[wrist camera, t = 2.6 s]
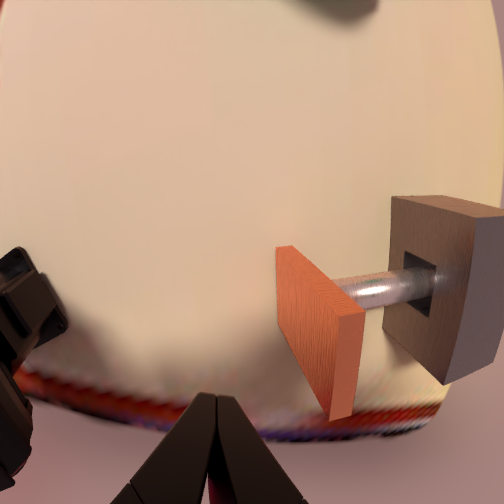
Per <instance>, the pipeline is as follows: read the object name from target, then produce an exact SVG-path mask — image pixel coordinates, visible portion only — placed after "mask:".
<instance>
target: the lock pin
mask: <svg viewBox="0 0 504 504" xmlns="http://www.w3.org/2000/svg"><path fill="white" fill-rule="evenodd" d="M276 271H277V302H278V324H279V326H280V328H281V330H282V332H283V334H284V336H285V338H286V340H287V342H288V344H289V346H290V348H291V350H292V352H293V353H294V355H295V357H296V359H297V361H298V363H299V365H300V367H301V369H302V371H303V373H304V375H305V376H306V378H307V380H308V382H309V384H310V386H311V388H312V390H313V392H314V394H315V396H316V397H317V399H318V401H319V403H320V405H321V407H322V409H323V411H324V413H325V415H326V417H327V418H328V420H329V421H333V420H337V419H340V418H344V417H348V416H351V414H352V408H353V403H354V397H355V391H356V384H357V378H358V371H359V364H360V357H361V349H362V341H363V332H364V323H365V313H366V311H365V310H368V309H373V308H378V307H383V306H388V305H393V304H397V303H402V302H406V301H411V300H415V299H420V298H424V297H429V296H433V289H434V282H435V275H436V265H434V264H431V265H425V266H419V267H413V268H407V269H401V270H394V271H388V272H381V273H375V274H368V275H362V276H355V277H348V278H341V279H334V280H330V279H329V278H328V277H327V276H326V275H325V274H324V273H323V272H322V271H320V270H319V269H318V268H317V267H316V266H315V265H314V264H313V263H311V262H310V261H309V260H308V259H307V258H306V257H305V256H303V255H302V254H301V253H300V252H299V251H298V250H297V249H295V248H294V247H293V246H284V247H276Z"/></svg>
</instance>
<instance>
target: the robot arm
mask: <svg viewBox="0 0 504 504" xmlns="http://www.w3.org/2000/svg"><path fill="white" fill-rule="evenodd" d="M17 252H18V253H19V255H20V258H19V257H18V256H17V254H16V253H17ZM59 323H61V324H62V325H63V327H61V326H60V325H59ZM67 329H68V322H67V320H66V319H65V317H64V316H63V314H62V313H61V311H60V310H59V308H58V307H57V305H56V304H55V301H54V299H53V298H52V296H51V294H50V293H49V291H48V290H47V288H46V286H45V285H44V283H43V281H42V280H41V278H40V276H39V275H38V273H37V271H35V269H34V267H33V266H32V264H31V262H30V260H29V259H28V257H27V255H26V253H25V251H24V250H23V248H21V247H16V248H14V249H12V250H11V251H10V252H9V253H7V254H6V255H5V256H4V257H2V258H1V259H0V491H3V490H5V489H7V488H10V487H12V486H14V484H15V481H14V479H13V478H12V477H13V476H15V475H16V474H17V473H18V472H19V471H20V470H21V469H22V468H23V467H24V465H25V463H26V461H27V459H28V457H29V456H30V454H31V450H32V447H31V446H30V438H31V435H32V431H33V423H32V409H33V406H32V404H31V403H30V401H29V400H28V399H26V398H25V396H24V395H23V393H22V392H21V390H20V389H19V387H18V385H17V384H16V382H15V380H14V379H13V376H14V374H15V373H16V372H17V370H18V369H19V367H20V366H21V364H22V363H23V361H24V360H25V359H26V357H27V356H28V354H29V353H30V352H31V350H33V349H35V348H37V347H38V346H40V345H42V344H44V343H46V342H48V341H50V340H51V339H53V338H55V337H57V336H59V335H61V334H63V333H64V332H65V331H66V330H67ZM207 473H208V489H209V500H210V504H309V503H308V502H307V501H306V500H305V499H303V496H302V495H301V493H300V492H299V490H298V489H297V488H296V486H295V485H294V484H293V482H292V481H291V480H290V478H289V477H288V476H287V474H286V473H285V472H284V470H283V469H282V467H281V466H280V464H279V463H278V462H277V460H276V459H275V457H274V456H273V455H272V453H271V452H270V450H269V449H268V447H267V446H266V444H265V443H264V441H263V440H262V439H261V437H260V436H259V434H258V433H257V431H256V430H255V428H254V427H253V425H252V424H251V422H250V421H249V419H248V417H247V416H246V414H245V413H244V411H243V410H242V408H241V407H240V405H239V404H238V402H237V400H236V399H235V398H234V397H233V396H228V395H220V394H219V395H217V396H216V395H215V394H213V393H206V392H199V393H198V394H197V395H196V396H195V398H194V399H193V400H192V402H191V403H190V404H189V406H188V407H187V408H186V410H185V411H184V412H183V413H182V415H181V416H180V417H179V419H178V420H177V421H176V423H175V424H174V425H173V427H172V428H171V429H170V430H169V432H168V433H167V434H166V436H165V437H164V438H163V439H162V441H161V442H160V444H159V445H158V446H157V447H156V448H155V450H154V451H153V452H152V454H151V455H150V456H149V457H148V459H147V460H146V461H145V462H144V464H143V465H142V466H141V467H140V469H139V470H138V471H137V472H136V474H135V475H134V476H133V477H132V479H131V480H130V483H127V484H126V486H125V487H124V488H123V489H122V490H121V492H120V493H119V494H118V495H117V497H116V498H115V499H114V500H113V501H112V502H111V503H110V504H201V500H202V496H203V492H204V488H205V483H206V478H207ZM302 499H303V500H302Z"/></svg>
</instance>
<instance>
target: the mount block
mask: <svg viewBox="0 0 504 504" xmlns="http://www.w3.org/2000/svg"><path fill="white" fill-rule="evenodd" d="M431 264H434V265H436V275H435V282H434V289H433V296H429V297H424V298H420V299H415V300H411V301H406V302H402V303H397V304H393V305H388V306H385V311H384V319H383V327H382V328H383V329H384V330H385V331H386V332H387V333H388V334H389V335H390V336H392V337H393V338H394V339H395V340H396V341H397V342H398V343H399V344H400V345H401V346H402V347H403V348H404V349H405V350H406V351H407V352H408V353H410V354H411V355H412V356H413V357H414V358H415V359H416V360H417V361H418V362H419V363H420V364H421V365H422V366H423V367H424V368H425V369H426V370H427V371H428V372H429V373H430V374H431V375H432V376H434V377H435V378H436V379H437V380H438V381H439V382H440V383H441V384H442V385H443V386H444V385H446V384H449V383H451V382H453V381H455V380H458V379H460V378H462V377H464V376H466V375H468V374H471V373H473V372H475V371H477V370H479V369H481V368H483V367H485V366H487V365H489V364H491V363H492V362H493V361H494V358H495V355H496V352H497V349H498V346H499V342H500V339H501V336H502V333H503V329H504V209H500V208H496V207H492V206H488V205H484V204H480V203H475V202H471V201H467V200H462V199H458V198H453V197H448V196H443V195H436V196H392V211H391V239H390V256H389V270H388V271H394V270H401V269H407V268H413V267H419V266H425V265H431Z"/></svg>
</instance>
